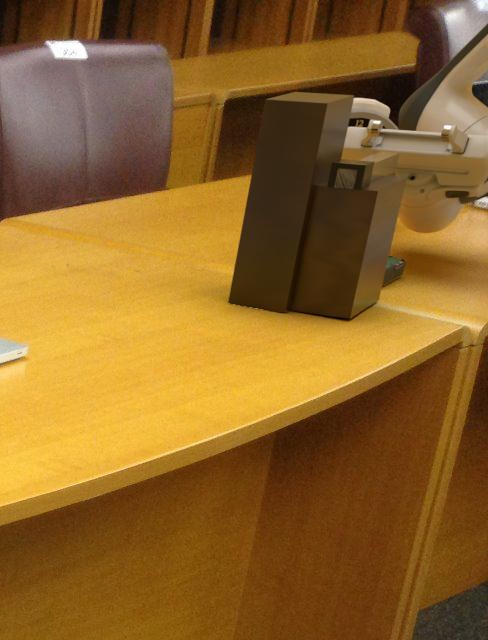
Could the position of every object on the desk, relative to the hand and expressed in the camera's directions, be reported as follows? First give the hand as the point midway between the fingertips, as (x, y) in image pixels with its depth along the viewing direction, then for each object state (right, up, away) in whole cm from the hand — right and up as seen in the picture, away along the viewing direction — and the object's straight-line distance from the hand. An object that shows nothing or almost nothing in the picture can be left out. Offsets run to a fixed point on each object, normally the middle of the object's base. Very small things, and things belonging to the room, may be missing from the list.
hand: (410, 127), depth 210 cm
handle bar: (-12, -11, -11) cm, 19 cm away
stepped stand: (-16, -25, -3) cm, 29 cm away
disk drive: (-4, -17, +12) cm, 21 cm away
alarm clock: (+11, 0, +46) cm, 48 cm away
